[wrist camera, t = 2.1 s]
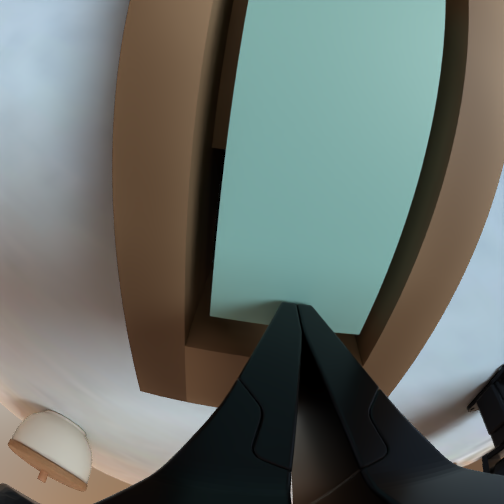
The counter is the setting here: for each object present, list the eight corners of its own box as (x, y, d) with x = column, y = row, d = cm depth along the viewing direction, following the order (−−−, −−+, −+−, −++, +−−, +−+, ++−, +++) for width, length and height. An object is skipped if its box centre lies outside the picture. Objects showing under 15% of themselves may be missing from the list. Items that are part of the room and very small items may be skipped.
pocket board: (439, -30, 6) (503, -64, 1) (352, 337, 15) (371, 416, 11) (216, -81, 6) (188, -147, 1) (171, 312, 15) (140, 390, 11)
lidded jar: (76, 444, 30) (58, 493, 22) (20, 399, 26) (-6, 450, 18) (118, 447, 27) (99, 508, 19) (50, 395, 23) (17, 462, 15)
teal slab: (407, 13, 6) (445, -6, 4) (344, 287, 11) (359, 334, 8) (263, -23, 6) (260, -60, 4) (222, 270, 11) (209, 315, 8)
